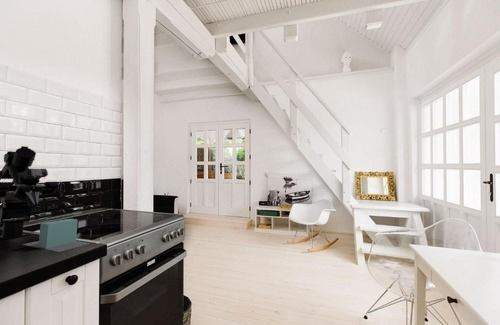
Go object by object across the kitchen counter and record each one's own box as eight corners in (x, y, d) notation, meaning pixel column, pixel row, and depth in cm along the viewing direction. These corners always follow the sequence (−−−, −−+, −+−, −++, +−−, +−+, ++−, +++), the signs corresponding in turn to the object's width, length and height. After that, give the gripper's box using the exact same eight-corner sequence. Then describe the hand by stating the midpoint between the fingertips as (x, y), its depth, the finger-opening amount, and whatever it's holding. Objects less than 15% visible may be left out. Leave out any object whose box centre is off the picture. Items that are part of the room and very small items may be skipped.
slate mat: (22, 246, 80) (22, 244, 80) (55, 239, 90) (55, 237, 90) (59, 254, 74) (59, 251, 74) (90, 245, 84) (90, 243, 84)
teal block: (38, 247, 78) (40, 223, 79) (68, 240, 87) (70, 218, 88) (46, 248, 77) (48, 224, 77) (76, 241, 86) (77, 219, 86)
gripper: (-2, 159, 82) (12, 192, 77) (58, 163, 99) (72, 189, 94) (-15, 180, 84) (-2, 213, 80) (45, 180, 102) (59, 207, 97)
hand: (35, 205), depth 88 cm, fingers closed
